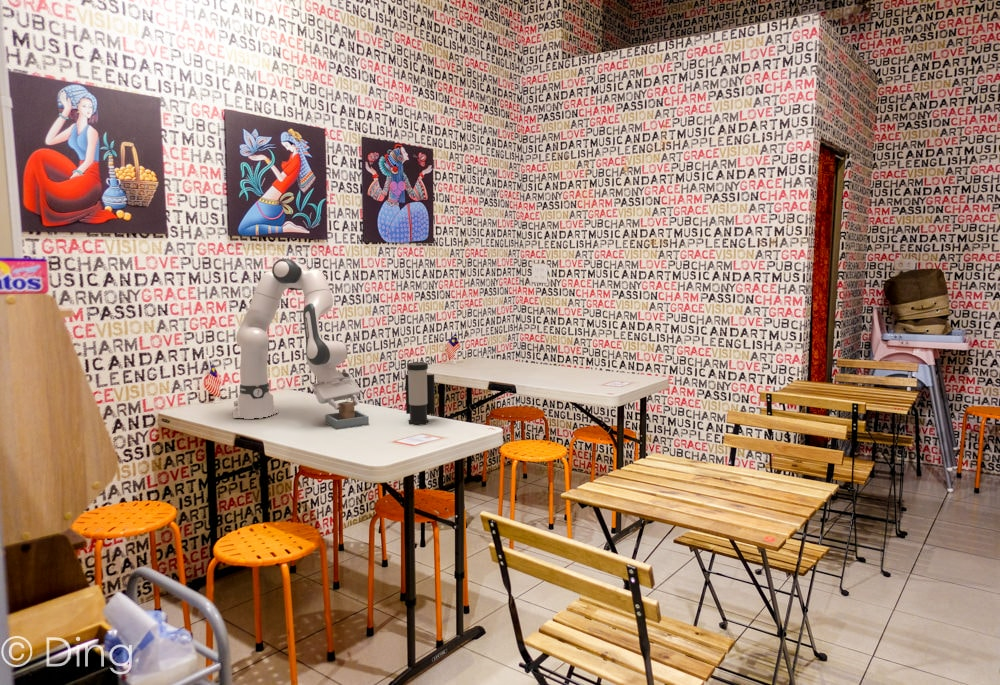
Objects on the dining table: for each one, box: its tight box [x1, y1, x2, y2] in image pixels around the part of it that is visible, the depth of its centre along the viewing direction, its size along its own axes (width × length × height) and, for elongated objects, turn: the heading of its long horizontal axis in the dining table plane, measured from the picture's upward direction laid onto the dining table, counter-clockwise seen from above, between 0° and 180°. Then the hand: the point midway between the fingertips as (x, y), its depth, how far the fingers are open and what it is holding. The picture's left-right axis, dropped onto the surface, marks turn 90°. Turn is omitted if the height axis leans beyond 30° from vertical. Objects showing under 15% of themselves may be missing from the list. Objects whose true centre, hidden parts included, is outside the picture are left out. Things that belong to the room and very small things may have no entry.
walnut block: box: [337, 400, 355, 420], centre depth 282 cm, size 4×4×8 cm
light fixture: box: [404, 361, 436, 426], centre depth 283 cm, size 12×11×25 cm
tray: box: [324, 410, 370, 430], centre depth 283 cm, size 14×14×4 cm
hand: (347, 406), depth 282 cm, fingers open, 8 cm apart
